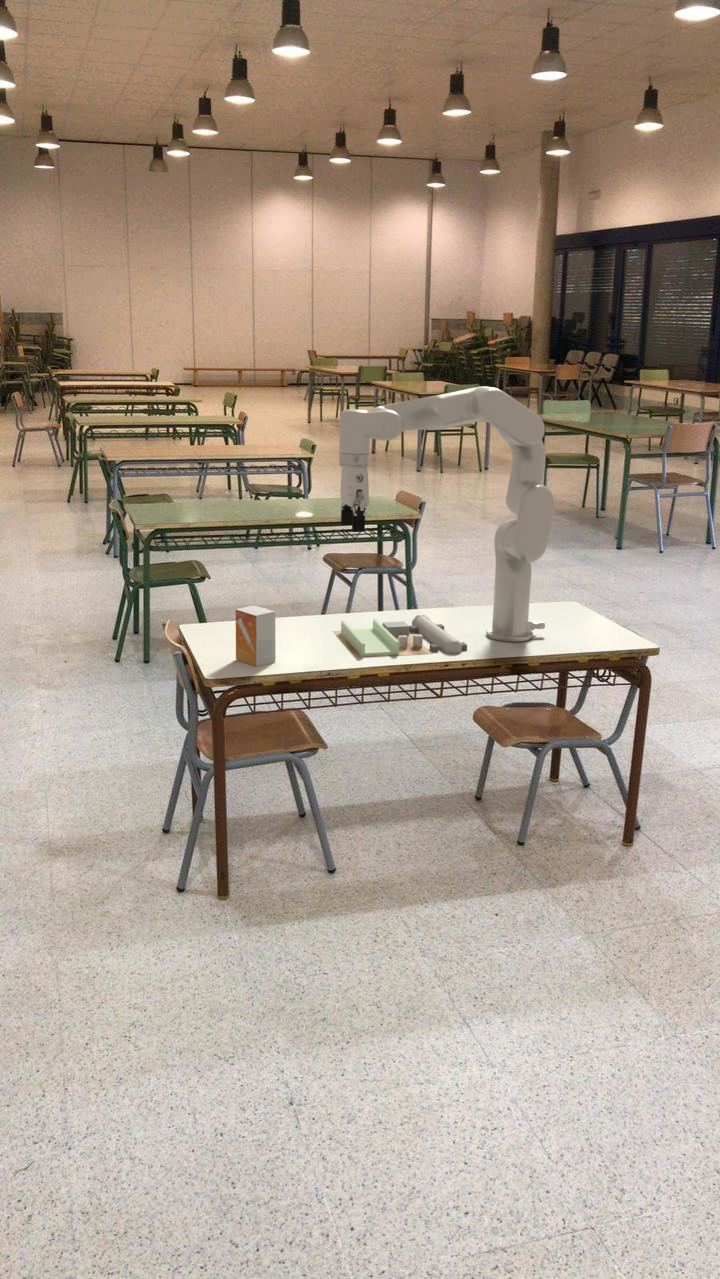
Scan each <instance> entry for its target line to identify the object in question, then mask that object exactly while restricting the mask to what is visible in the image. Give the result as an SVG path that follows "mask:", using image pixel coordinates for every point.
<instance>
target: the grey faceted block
mask: <svg viewBox="0 0 720 1279" xmlns="http://www.w3.org/2000/svg"><path fill="white" fill-rule="evenodd" d="M381 625H382V626H383V627H384V628H385V629H387V630H388V631H389V632H390V633H391V634H392V635H393V636H402V635H409V632H410V631H409V626H410V625H409V624H408V623H406V622H405V621H386V622H385V621H383V622H382V624H381Z"/></svg>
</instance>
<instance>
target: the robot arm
mask: <svg viewBox="0 0 720 1279" xmlns="http://www.w3.org/2000/svg"><path fill="white" fill-rule="evenodd" d="M478 422H485V423H488V424H490V425H491V426H492V427H493V428H495V429H496V430H497V431H498V433H499V436H500V437H501V438H502V439H503V440H504V441H505V442H506V443H507V444H508V446H509V448H510V451H511V460H512V461H511V468H510V475H509V481H508V485H507V490H506V495H505V496H506V497H505V504H506V506H507V508H508V510H509V511H510V512H512V513H513V514H514V515H517V517H516V518H515V519H514V518H513V519H507V520H505V521H503V522H501V524H499V526H498V527H497V529H496V530H495V534H494V542H493V543H494V553H495V554H494V556H495V574H494V591H493V592H494V593H493V607H492V608H493V609H492V610H493V611H492V623H491V625H492V626H491V627H489V628H487V629H486V630H485V631H486V632H485V635H486V636H487V637H488V638H490V639H492V640H497V641H500V642H513V643H516V642H526V641H530V640H531V639H533V637H534V633H533V631H534V630H536V629H537V630H545V628H546V623H545V622H544V621H537V620H531V619H529V612H530V602H531V601H530V600H531V599H530V597H531V584H532V582H531V581H532V563H535V562H537V561H538V560H540V559H541V558H542V557H543V555H544V554H545V552H546V551H547V550H546V549H547V548H548V545H549V539H550V535H551V529H552V526H553V520H554V519H553V518H554V513H555V497H554V495H553V492H552V491H551V490H550V489H549V488H548V487H547V486H546V485H545V484H543V483H544V474H545V466H546V450H545V449H546V448H545V444H544V442H543V438H544V435H545V430H546V428H545V423H544V420H543V419H542V418H541V417H540V416H539V414H537V413H535V412H534V411H532V410H531V409H530V408H529V407H527V406H525V405H524V404H522V403H521V402H519V401H518V400H517V399H515V398H514V397H513V396H511V395H509V394H508V393H506V392H505V391H503V390H501V389H499V388H496V387H492V386H485V385H484V386H476V387H471V388H465V389H462V390H457V391H452V392H446V393H443V394H437V395H431V396H426V397H421V398H420V397H419V398H416V399H410V400H404V401H398V402H393V403H390V404H389V403H388V404H385V405H384V404H383V405H379V406H376V407H373V408H372V409H370V410H366V409H359V408H358V409H356V408H355V409H354V408H352V409H351V408H349V409H343V410H342V411H341V412H340V414H339V448H338V449H339V450H338V452H339V455H338V466H339V467H341V471H340V472H341V474H340V501H341V506H340V524H341V525H342V526H351V531H352V532H353V533H362V532H365V529H366V509H367V507H368V506H369V503H370V494H369V493H370V492H369V491H370V490H369V487H370V486H369V472H368V468H369V467H370V445H371V444H370V443H371V439H372V440H377V441H384V442H385V441H393V440H395V439H397V438H398V437H400V436H401V434H402V433H403V432H405V431H416V430H424V431H425V430H426V431H438V430H439V431H440V430H446V429H450V428H454V427H459V426H463V425H469V424H473V423H478Z"/></svg>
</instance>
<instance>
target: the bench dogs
mask: <svg viewBox="0 0 720 1279" xmlns="http://www.w3.org/2000/svg"><path fill="white" fill-rule="evenodd" d="M412 635H413V647H414V648H420V647H422V644H423V639H424V637H423V636H422V635H421V634H412ZM398 641H399V648H400V649H402V648H407V641H408V637H407V636H406V635H402V636H398Z"/></svg>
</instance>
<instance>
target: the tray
mask: <svg viewBox="0 0 720 1279" xmlns="http://www.w3.org/2000/svg"><path fill="white" fill-rule="evenodd" d="M382 625H383V624H382V623H381V622H379V621H378V619H372V628H357V629H356V628H355V629H353V628H351V627H350V625H349V624H348V623H347V622H346V621H345V620H341V622H340V631H341V633H342V635H343V636H344V637H345V638H346V639H347V640H348V641H349V643H350V644H351V645H352V646H353V647H354V648H355V649H356V651H357V652H358V653H359V654H360V655H361V656H362V657H363V656H381V655H399V641H398V640H397V639H396V638H395V637H394V636H393V635H392V634H391V633H390V632H389V631H388V630H387V629H385V628H384V627H383V626H382Z"/></svg>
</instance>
